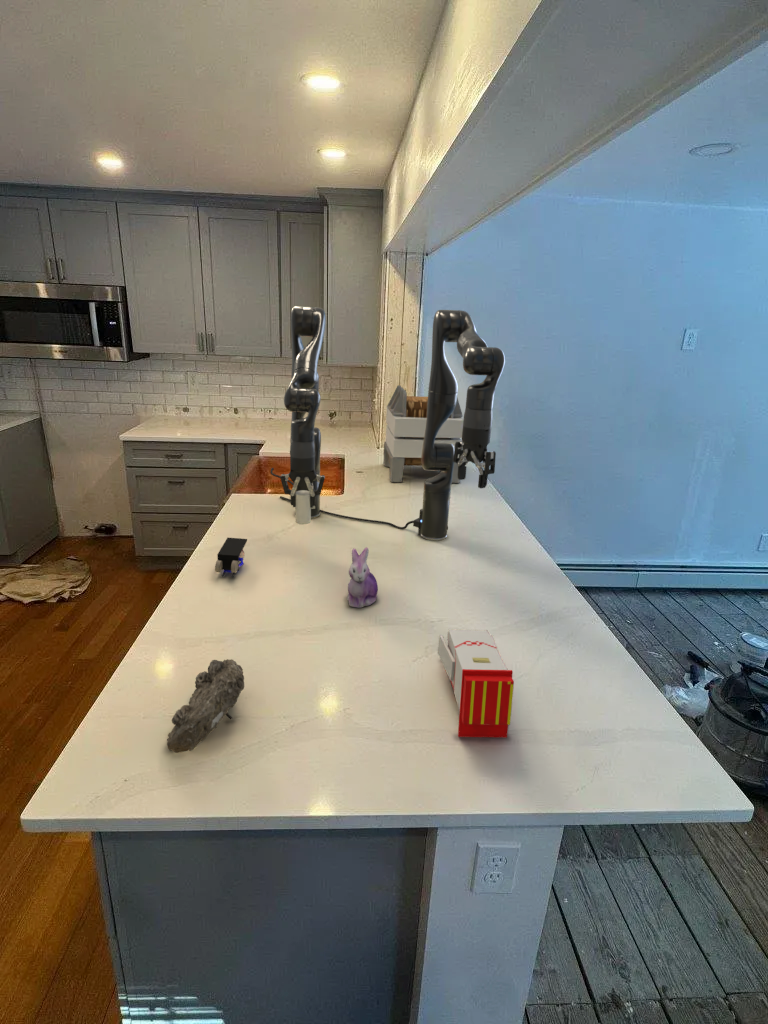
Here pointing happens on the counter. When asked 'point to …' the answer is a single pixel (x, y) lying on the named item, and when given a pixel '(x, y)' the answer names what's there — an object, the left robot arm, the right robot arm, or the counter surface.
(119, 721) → the counter surface
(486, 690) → the toy
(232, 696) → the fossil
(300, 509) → the canister
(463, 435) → the right robot arm
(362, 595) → the figurine
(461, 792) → the counter surface
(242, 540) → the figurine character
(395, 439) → the grey slatted box
